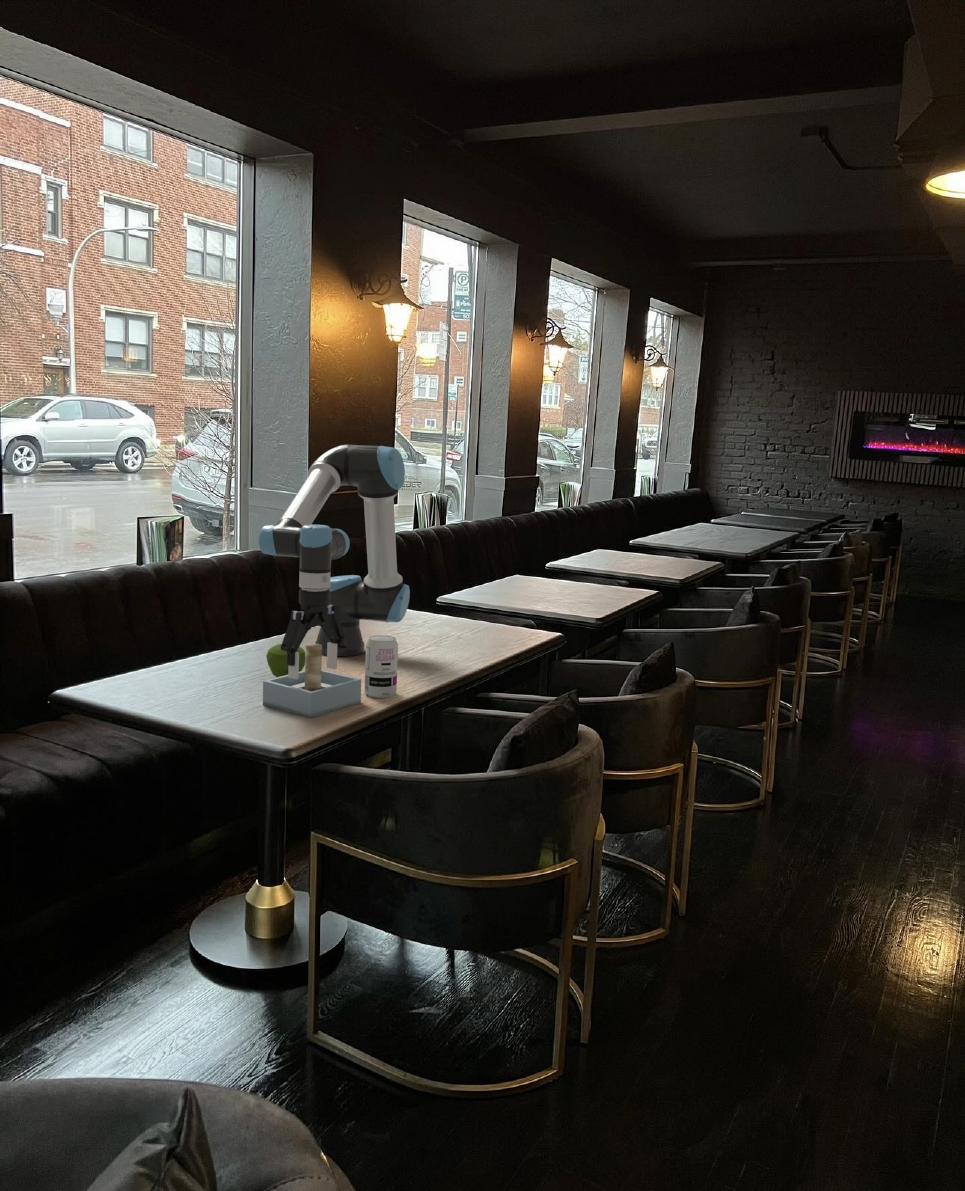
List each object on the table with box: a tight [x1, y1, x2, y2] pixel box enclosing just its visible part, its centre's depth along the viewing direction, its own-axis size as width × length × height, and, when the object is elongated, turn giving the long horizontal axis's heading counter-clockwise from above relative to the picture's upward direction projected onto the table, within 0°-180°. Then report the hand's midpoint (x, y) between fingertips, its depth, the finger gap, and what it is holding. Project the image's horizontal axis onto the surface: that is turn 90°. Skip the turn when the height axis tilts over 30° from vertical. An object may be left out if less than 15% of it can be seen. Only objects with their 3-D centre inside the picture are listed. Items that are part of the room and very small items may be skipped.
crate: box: [262, 669, 362, 718], centre depth 239 cm, size 16×18×6 cm
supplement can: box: [364, 634, 399, 699], centre depth 250 cm, size 8×8×15 cm
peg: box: [304, 643, 323, 691], centre depth 239 cm, size 4×4×14 cm
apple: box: [265, 643, 305, 678], centre depth 260 cm, size 11×10×10 cm
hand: (313, 673), depth 239 cm, fingers open, 13 cm apart
